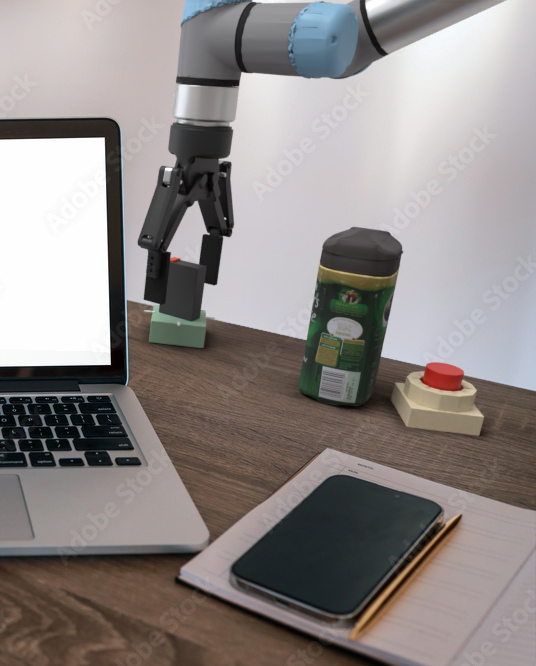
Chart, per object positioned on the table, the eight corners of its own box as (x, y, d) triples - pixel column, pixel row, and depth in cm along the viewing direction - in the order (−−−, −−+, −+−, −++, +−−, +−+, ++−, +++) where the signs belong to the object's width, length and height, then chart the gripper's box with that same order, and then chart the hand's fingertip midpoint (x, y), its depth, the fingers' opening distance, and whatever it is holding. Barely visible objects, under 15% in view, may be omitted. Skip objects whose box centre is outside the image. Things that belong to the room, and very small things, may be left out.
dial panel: (210, 329, 106) (213, 307, 105) (212, 352, 98) (215, 329, 97) (143, 322, 108) (146, 300, 107) (139, 344, 99) (142, 321, 98)
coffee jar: (308, 370, 94) (336, 218, 88) (377, 386, 90) (411, 229, 84) (288, 397, 86) (317, 232, 80) (363, 415, 82) (400, 244, 76)
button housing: (457, 408, 85) (466, 374, 84) (479, 436, 79) (489, 400, 78) (390, 400, 87) (398, 367, 85) (406, 427, 80) (415, 392, 79)
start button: (453, 382, 83) (458, 364, 82) (464, 395, 80) (469, 377, 79) (417, 378, 84) (422, 360, 83) (427, 391, 80) (431, 372, 80)
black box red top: (200, 317, 101) (207, 264, 99) (191, 321, 100) (198, 266, 97) (167, 308, 104) (173, 256, 102) (158, 312, 103) (164, 258, 100)
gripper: (223, 117, 105) (203, 270, 112) (118, 122, 87) (102, 303, 94) (275, 122, 100) (251, 281, 108) (176, 129, 82) (154, 318, 90)
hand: (181, 292), depth 101 cm, fingers open, 12 cm apart
